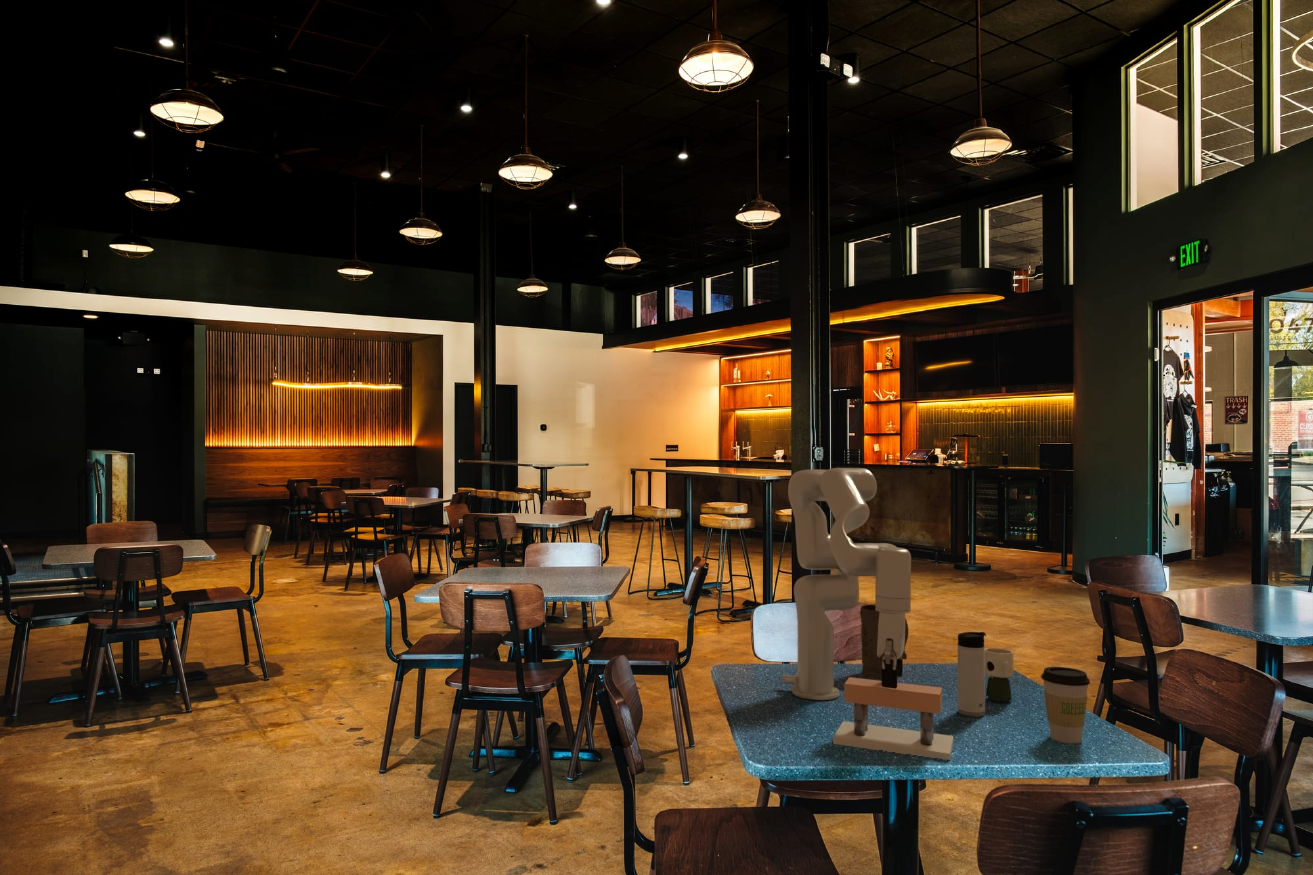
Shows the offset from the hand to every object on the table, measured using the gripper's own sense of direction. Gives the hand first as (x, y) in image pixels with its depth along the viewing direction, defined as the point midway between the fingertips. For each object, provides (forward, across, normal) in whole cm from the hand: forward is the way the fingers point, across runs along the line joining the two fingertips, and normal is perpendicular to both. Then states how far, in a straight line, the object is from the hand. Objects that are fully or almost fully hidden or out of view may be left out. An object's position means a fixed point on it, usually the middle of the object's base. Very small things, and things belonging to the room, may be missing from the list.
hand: (892, 681), depth 175 cm
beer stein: (+15, -60, -10) cm, 63 cm away
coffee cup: (+13, -19, +35) cm, 43 cm away
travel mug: (+14, -30, +15) cm, 37 cm away
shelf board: (+5, 0, 0) cm, 5 cm away
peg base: (+13, +1, 0) cm, 13 cm away
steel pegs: (+12, +1, 0) cm, 12 cm away
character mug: (+14, -45, +21) cm, 52 cm away
